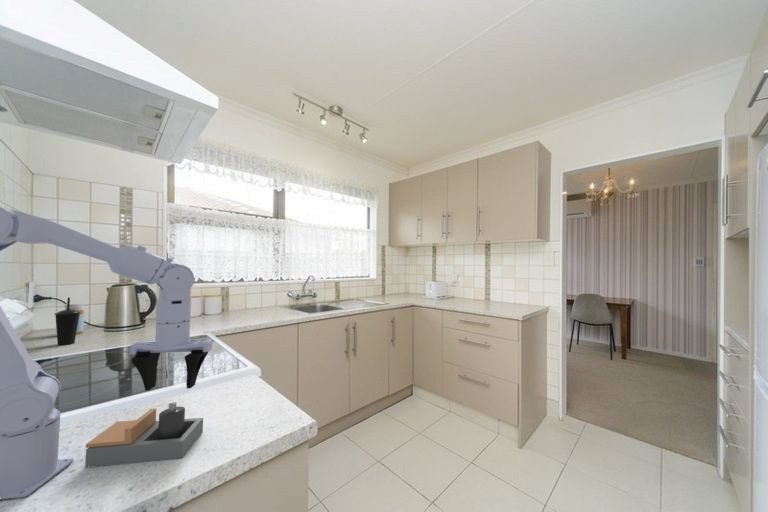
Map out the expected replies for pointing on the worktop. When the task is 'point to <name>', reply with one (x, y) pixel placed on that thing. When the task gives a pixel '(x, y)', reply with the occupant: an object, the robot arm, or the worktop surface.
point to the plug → (171, 422)
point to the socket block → (147, 447)
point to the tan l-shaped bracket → (124, 431)
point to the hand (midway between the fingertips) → (170, 387)
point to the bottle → (81, 317)
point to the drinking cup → (67, 325)
